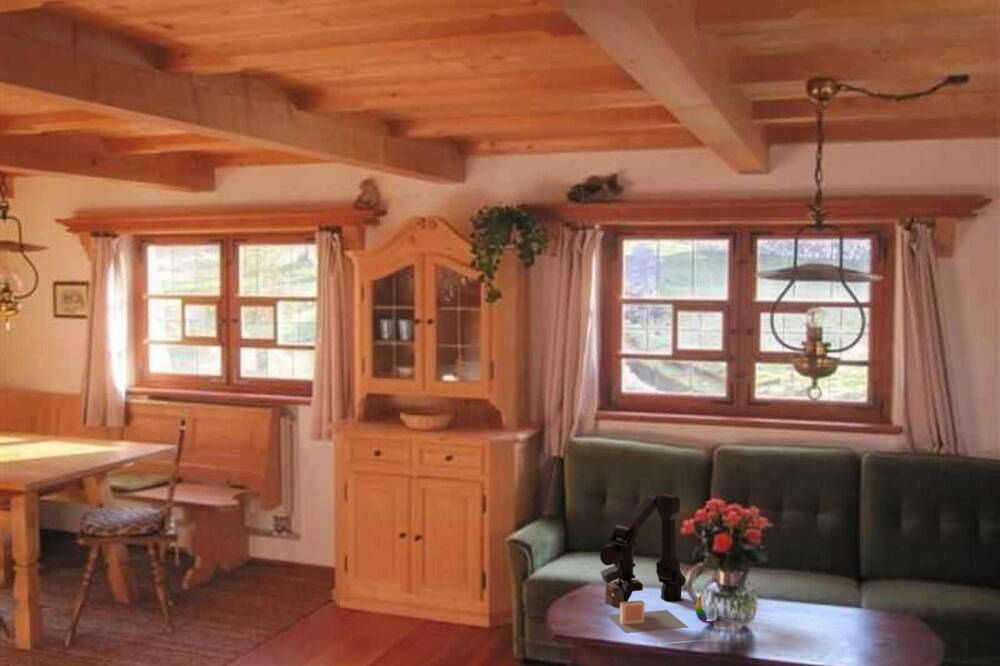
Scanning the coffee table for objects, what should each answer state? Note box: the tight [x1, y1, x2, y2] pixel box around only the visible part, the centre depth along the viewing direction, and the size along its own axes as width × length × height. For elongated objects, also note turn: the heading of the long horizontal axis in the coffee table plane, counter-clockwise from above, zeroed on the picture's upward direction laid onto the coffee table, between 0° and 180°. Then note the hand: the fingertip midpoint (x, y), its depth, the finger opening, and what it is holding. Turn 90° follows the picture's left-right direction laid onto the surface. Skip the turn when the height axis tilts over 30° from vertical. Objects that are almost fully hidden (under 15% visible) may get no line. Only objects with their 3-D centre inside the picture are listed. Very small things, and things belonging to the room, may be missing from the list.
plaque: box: [619, 599, 645, 625], centre depth 333 cm, size 8×3×7 cm, turn 104°
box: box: [604, 582, 623, 608], centre depth 353 cm, size 6×6×7 cm
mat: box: [606, 609, 689, 634], centre depth 335 cm, size 23×18×1 cm
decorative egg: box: [695, 594, 707, 622], centre depth 337 cm, size 8×8×10 cm
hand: (624, 603), depth 340 cm, fingers closed
